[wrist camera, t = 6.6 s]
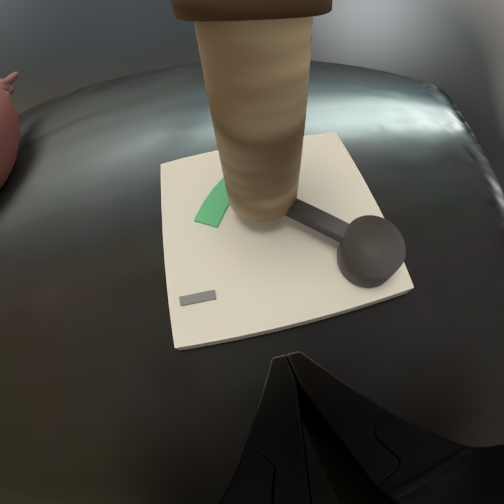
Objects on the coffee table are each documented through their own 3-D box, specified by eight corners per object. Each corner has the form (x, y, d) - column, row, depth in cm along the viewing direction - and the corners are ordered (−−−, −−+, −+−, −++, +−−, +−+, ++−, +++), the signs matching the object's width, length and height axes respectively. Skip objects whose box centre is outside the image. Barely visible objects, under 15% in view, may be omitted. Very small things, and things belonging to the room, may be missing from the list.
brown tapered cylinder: (403, 238, 16) (514, 46, 4) (377, 310, 14) (563, 104, 2) (249, 165, 19) (230, -34, 7) (204, 220, 17) (133, -9, 5)
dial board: (333, 141, 22) (335, 130, 20) (407, 292, 16) (415, 286, 14) (164, 172, 21) (160, 162, 20) (180, 350, 15) (173, 347, 14)
